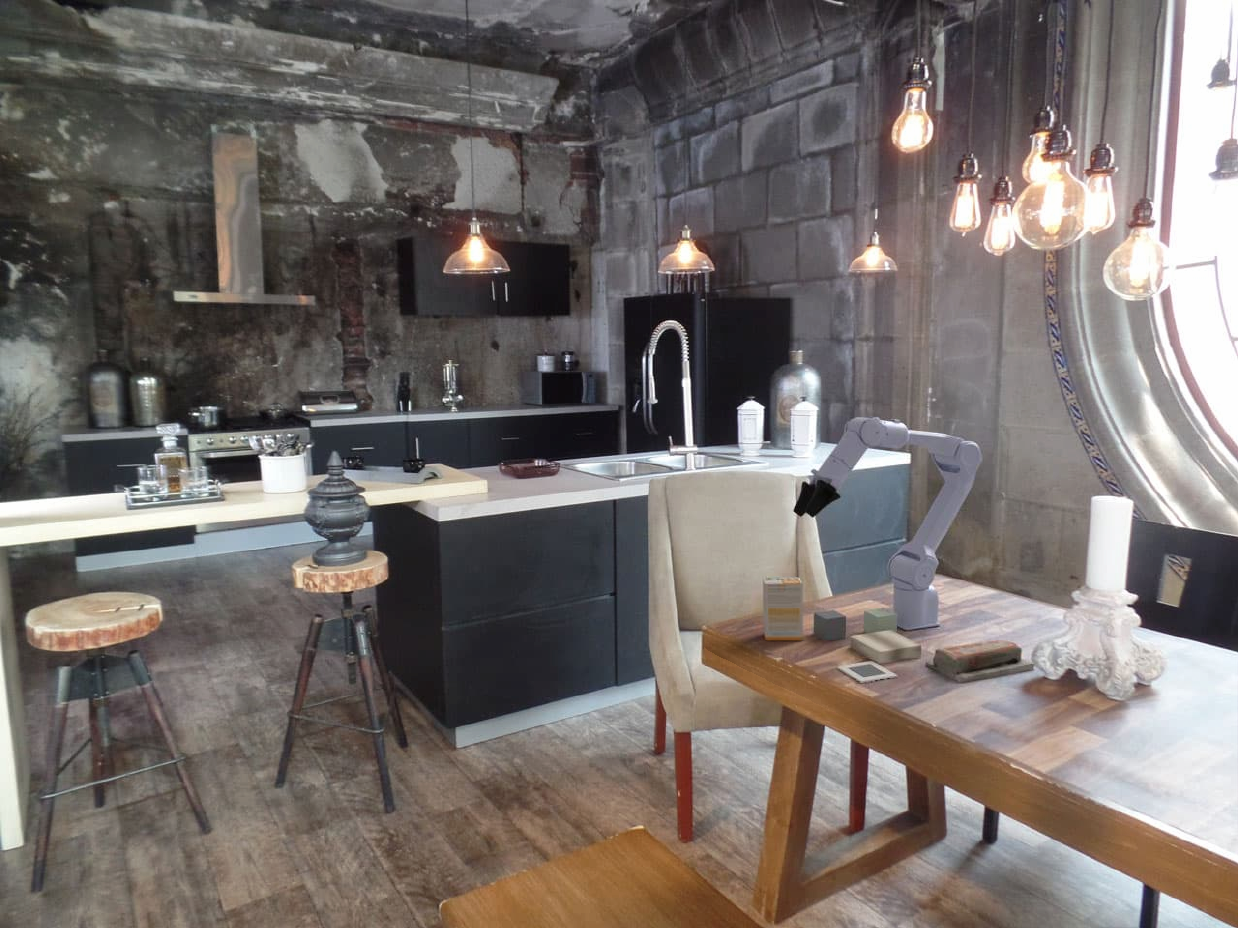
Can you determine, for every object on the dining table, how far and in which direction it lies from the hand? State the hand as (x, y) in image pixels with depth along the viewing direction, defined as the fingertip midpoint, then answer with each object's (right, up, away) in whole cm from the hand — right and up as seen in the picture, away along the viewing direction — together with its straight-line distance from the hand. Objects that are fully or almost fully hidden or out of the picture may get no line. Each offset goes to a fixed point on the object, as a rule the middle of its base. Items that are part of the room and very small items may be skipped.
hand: (802, 514), depth 179 cm
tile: (+9, -30, -15) cm, 35 cm away
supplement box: (-3, -28, +6) cm, 28 cm away
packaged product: (+32, -30, -14) cm, 46 cm away
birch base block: (+16, -29, -5) cm, 33 cm away
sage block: (+19, -27, +7) cm, 33 cm away
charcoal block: (+7, -27, +6) cm, 29 cm away
